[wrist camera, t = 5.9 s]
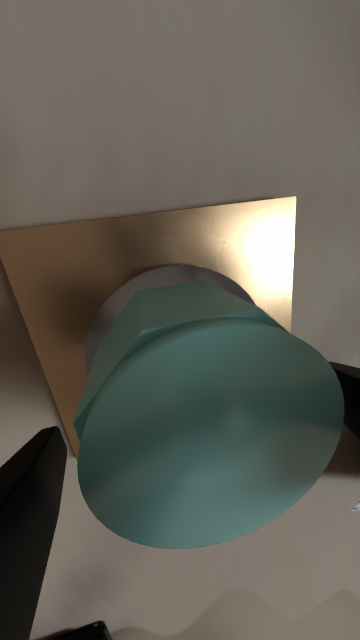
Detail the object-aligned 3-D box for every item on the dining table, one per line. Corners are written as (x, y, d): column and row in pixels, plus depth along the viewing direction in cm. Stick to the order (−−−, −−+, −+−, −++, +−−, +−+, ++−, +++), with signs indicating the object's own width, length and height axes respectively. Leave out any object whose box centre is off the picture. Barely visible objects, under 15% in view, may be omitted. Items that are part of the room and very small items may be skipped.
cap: (251, 401, 12) (331, 506, 7) (122, 433, 11) (114, 578, 6) (249, 272, 10) (361, 301, 5) (86, 298, 9) (31, 365, 4)
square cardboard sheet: (277, 406, 15) (343, 481, 10) (85, 456, 13) (59, 572, 9) (282, 200, 11) (394, 168, 6) (5, 233, 9) (-127, 223, 4)
